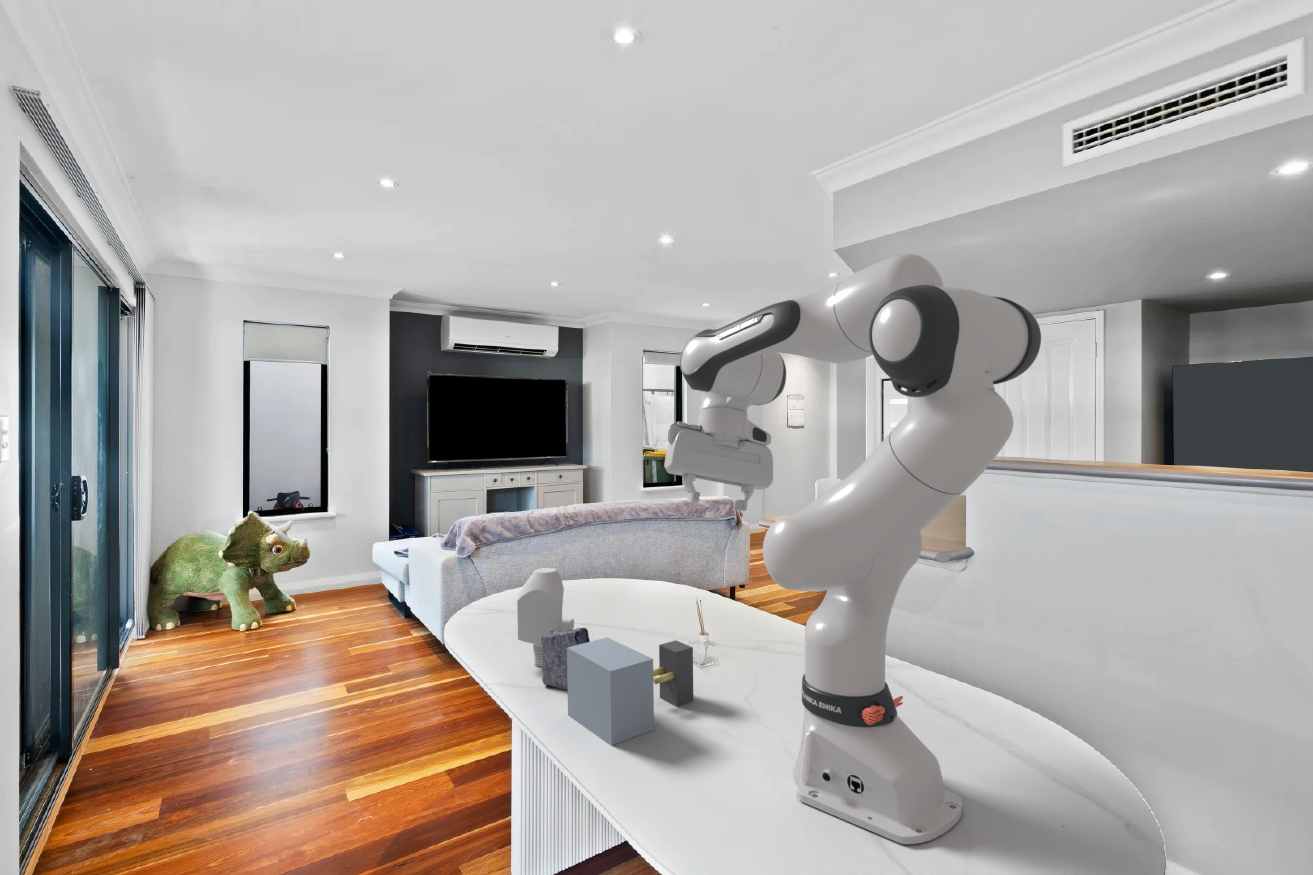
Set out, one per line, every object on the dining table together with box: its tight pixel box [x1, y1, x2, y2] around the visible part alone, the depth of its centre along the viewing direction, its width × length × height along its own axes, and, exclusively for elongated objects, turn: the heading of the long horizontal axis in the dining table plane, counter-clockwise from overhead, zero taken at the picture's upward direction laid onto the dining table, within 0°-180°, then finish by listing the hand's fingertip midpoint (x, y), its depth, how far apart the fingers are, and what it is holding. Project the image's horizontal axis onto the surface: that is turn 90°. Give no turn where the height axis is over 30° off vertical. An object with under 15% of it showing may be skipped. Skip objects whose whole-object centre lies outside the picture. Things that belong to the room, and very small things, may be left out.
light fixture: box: [516, 567, 575, 668], centre depth 140 cm, size 9×9×20 cm
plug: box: [653, 639, 694, 708], centre depth 119 cm, size 5×8×10 cm, turn 127°
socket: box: [567, 637, 655, 746], centre depth 112 cm, size 14×9×12 cm, turn 37°
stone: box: [541, 627, 591, 691], centre depth 130 cm, size 12×10×10 cm
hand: (717, 506), depth 113 cm, fingers open, 8 cm apart
